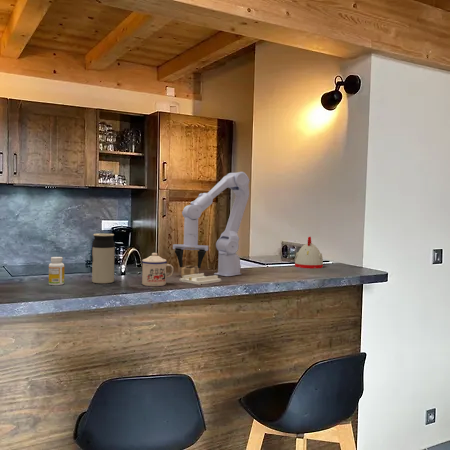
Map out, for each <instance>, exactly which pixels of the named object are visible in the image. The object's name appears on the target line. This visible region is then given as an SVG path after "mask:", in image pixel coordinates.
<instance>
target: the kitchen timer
mask: <svg viewBox="0 0 450 450" xmlns="http://www.w3.org/2000/svg"><path fill="white" fill-rule="evenodd" d="M294 261H295V262H294V267H296V268H301V269H322V267H324V262H323V253H321V252H320V250H319V248H318V247H317V246H316V245H315V244H314V243H312V237H311V236H308V237H307V243H305V244H303V245H302V246H301V248H299V250H298V252H296V253H295V259H294Z"/></svg>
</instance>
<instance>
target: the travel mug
mask: <svg viewBox="0 0 450 450" xmlns="http://www.w3.org/2000/svg"><path fill="white" fill-rule="evenodd" d="M114 236H115V234H114V233H93V238H94V239H93V241H92V249H91V250H92V263H91V264H92V265H91V266H92V267H91V272H92V273H91V282H92V283H94V284H105V285H106V284H111V283H113V282H115V247H116V246H115V241H114Z"/></svg>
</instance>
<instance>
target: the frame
mask: <svg viewBox="0 0 450 450" xmlns="http://www.w3.org/2000/svg"><path fill="white" fill-rule="evenodd" d="M180 269H181V271H180V272H181V275H180V276H181V277H180V278H183V276H185V275H192V274H200V273H199V272H200V270H199V269H200V268H198V265H185V266H183V267H180Z"/></svg>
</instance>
